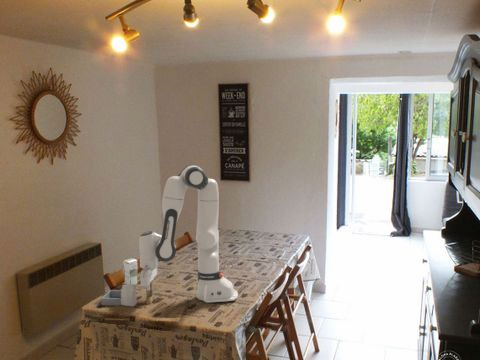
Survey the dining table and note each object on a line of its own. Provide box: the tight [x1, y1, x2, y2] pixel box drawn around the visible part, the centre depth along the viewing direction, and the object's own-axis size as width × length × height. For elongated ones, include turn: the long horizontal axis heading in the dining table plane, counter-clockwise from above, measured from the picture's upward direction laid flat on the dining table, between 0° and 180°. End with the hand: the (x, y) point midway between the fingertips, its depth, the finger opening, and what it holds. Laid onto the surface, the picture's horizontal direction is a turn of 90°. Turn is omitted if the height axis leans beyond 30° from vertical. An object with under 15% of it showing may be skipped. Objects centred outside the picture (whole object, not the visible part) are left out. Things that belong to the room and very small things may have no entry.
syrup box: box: [123, 258, 139, 286], centre depth 246 cm, size 6×6×14 cm
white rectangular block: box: [120, 284, 138, 307], centre depth 216 cm, size 4×7×10 cm, turn 72°
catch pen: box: [100, 289, 122, 306], centre depth 221 cm, size 10×12×4 cm
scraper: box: [145, 280, 155, 305], centre depth 220 cm, size 3×7×10 cm, turn 177°
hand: (149, 288), depth 220 cm, fingers closed on scraper, 3 cm apart
